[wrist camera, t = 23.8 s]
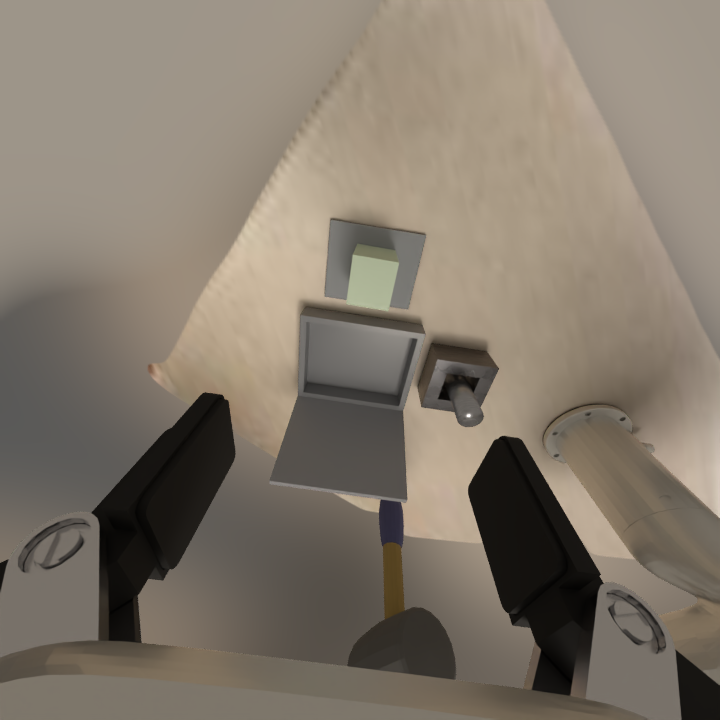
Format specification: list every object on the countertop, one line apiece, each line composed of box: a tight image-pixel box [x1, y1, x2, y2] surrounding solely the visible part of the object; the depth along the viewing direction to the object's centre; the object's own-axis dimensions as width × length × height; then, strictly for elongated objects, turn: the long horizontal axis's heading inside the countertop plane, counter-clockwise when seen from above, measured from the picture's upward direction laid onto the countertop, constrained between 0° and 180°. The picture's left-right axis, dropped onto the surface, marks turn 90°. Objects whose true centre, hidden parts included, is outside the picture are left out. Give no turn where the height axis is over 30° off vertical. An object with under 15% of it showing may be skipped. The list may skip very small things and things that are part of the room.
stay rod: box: [444, 373, 484, 427], centre depth 37 cm, size 3×3×10 cm
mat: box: [325, 220, 426, 309], centre depth 34 cm, size 11×9×1 cm
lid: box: [270, 396, 407, 503], centre depth 37 cm, size 16×13×1 cm
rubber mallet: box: [348, 499, 456, 680], centre depth 40 cm, size 12×8×30 cm, turn 153°
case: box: [298, 307, 426, 411], centre depth 40 cm, size 16×13×3 cm
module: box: [346, 244, 399, 311], centre depth 31 cm, size 4×5×7 cm
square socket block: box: [418, 343, 499, 412], centre depth 39 cm, size 8×8×4 cm
